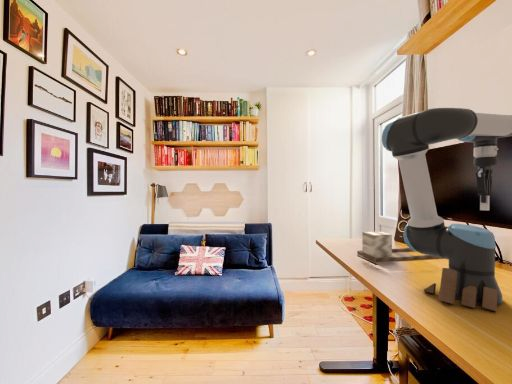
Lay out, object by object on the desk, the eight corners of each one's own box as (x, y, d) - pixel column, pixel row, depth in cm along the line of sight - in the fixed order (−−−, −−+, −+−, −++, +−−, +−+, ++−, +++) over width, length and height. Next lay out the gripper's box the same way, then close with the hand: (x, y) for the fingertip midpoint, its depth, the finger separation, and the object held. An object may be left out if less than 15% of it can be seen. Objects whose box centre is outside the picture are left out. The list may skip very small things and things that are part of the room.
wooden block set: (495, 318, 72) (498, 283, 74) (496, 316, 66) (498, 279, 69) (423, 296, 85) (427, 267, 87) (418, 293, 79) (423, 262, 82)
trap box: (375, 264, 115) (375, 258, 115) (357, 256, 129) (357, 250, 129) (453, 259, 122) (453, 253, 122) (427, 252, 137) (427, 246, 137)
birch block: (373, 259, 118) (373, 235, 117) (362, 254, 127) (362, 232, 126) (391, 258, 119) (391, 234, 119) (379, 253, 128) (379, 231, 128)
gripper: (490, 154, 100) (490, 211, 100) (502, 156, 106) (501, 210, 107) (467, 157, 107) (467, 210, 107) (480, 158, 113) (479, 208, 113)
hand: (484, 210), depth 107 cm, fingers closed
